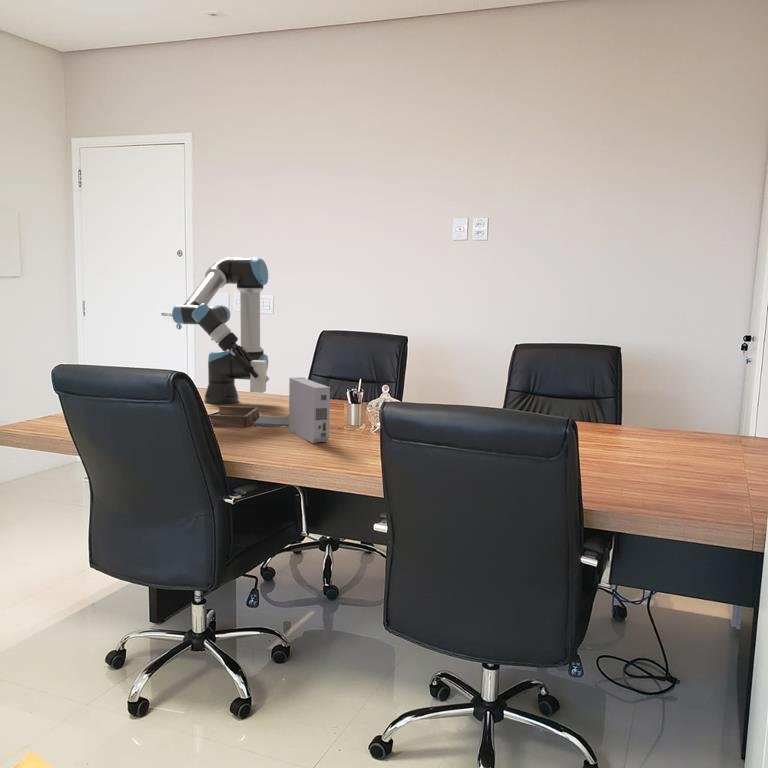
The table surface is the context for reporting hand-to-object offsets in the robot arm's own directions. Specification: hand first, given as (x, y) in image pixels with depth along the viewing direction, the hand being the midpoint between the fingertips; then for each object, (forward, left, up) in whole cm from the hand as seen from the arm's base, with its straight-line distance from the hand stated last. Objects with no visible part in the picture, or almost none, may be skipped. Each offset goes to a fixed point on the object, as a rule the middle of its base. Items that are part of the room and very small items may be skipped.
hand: (265, 382), depth 300 cm
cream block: (0, -3, -4) cm, 5 cm away
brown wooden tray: (-2, -13, -16) cm, 21 cm away
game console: (+22, +21, -16) cm, 35 cm away
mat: (-2, +4, -16) cm, 17 cm away
